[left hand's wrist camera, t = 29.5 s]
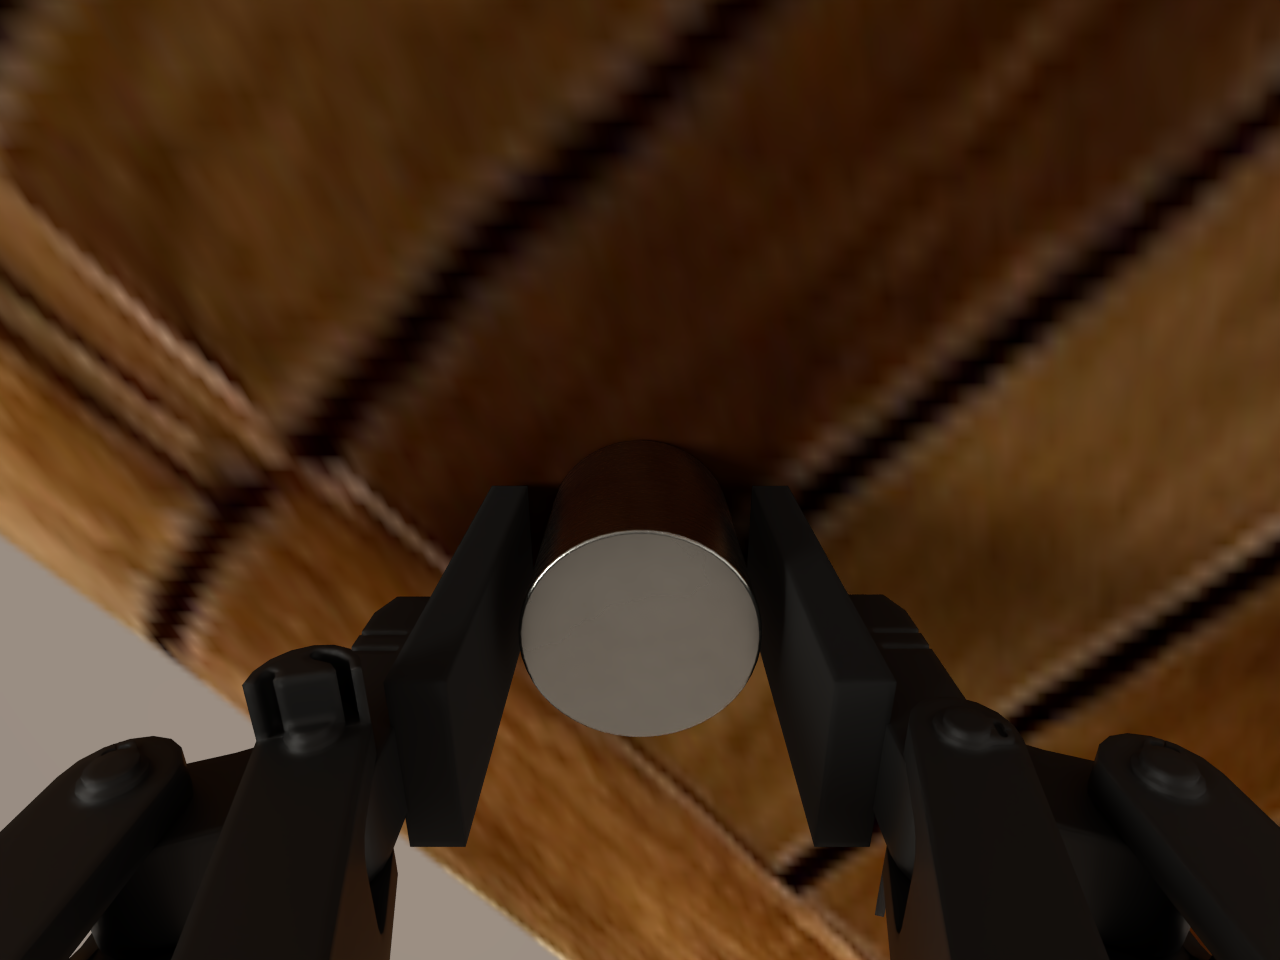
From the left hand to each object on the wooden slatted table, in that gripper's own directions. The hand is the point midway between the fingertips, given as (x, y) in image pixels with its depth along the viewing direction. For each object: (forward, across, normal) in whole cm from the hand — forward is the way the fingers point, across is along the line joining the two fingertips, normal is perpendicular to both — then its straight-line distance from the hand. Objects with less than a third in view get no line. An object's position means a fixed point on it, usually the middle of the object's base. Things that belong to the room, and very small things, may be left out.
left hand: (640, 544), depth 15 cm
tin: (0, 0, 0) cm, 0 cm away
